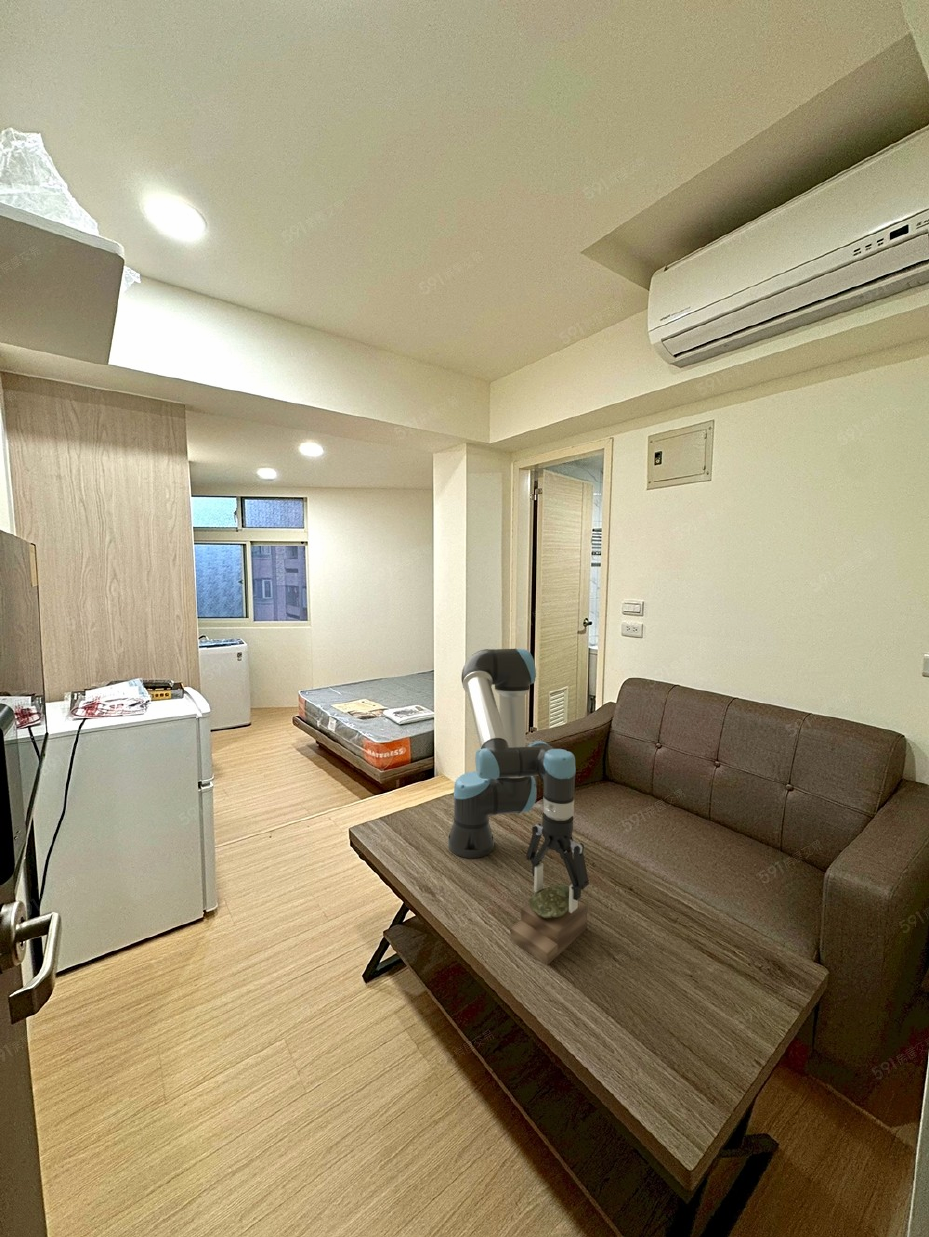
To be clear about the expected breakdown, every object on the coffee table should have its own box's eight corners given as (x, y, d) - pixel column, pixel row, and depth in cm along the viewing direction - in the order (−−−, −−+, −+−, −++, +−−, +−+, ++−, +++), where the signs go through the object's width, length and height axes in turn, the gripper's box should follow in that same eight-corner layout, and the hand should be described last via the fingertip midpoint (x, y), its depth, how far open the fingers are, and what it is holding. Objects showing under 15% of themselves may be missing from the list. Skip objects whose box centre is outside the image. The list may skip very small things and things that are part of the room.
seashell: (521, 898, 121) (545, 864, 123) (533, 906, 125) (556, 874, 127) (549, 928, 113) (574, 892, 115) (562, 936, 117) (586, 901, 119)
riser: (510, 939, 118) (510, 916, 117) (551, 906, 129) (551, 885, 129) (547, 965, 110) (547, 941, 109) (586, 928, 122) (587, 905, 121)
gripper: (513, 802, 124) (511, 884, 125) (590, 837, 108) (586, 930, 110) (531, 793, 129) (529, 872, 131) (606, 825, 113) (603, 914, 115)
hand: (555, 899), depth 120 cm, fingers open, 10 cm apart
